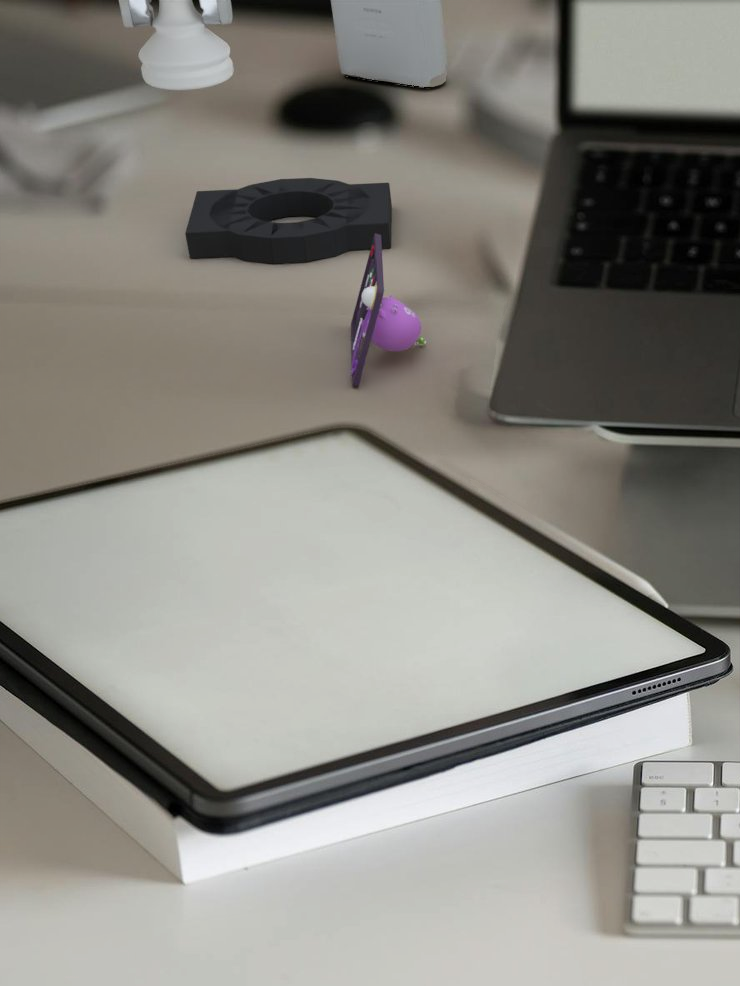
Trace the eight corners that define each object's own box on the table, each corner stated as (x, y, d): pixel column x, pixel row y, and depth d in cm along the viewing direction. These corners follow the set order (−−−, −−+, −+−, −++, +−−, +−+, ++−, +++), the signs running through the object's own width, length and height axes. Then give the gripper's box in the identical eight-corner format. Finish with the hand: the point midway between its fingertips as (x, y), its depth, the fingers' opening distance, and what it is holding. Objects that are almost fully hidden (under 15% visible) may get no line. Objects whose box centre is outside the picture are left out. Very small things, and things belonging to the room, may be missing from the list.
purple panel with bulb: (363, 229, 109) (365, 287, 102) (443, 249, 111) (451, 307, 104) (339, 321, 112) (339, 384, 105) (417, 339, 114) (423, 402, 107)
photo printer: (332, 78, 155) (315, -62, 148) (359, 65, 158) (343, -72, 152) (430, 94, 152) (417, -48, 145) (455, 80, 155) (443, -59, 149)
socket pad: (187, 268, 119) (182, 242, 118) (203, 207, 129) (198, 182, 128) (391, 257, 122) (388, 231, 121) (392, 198, 131) (389, 173, 130)
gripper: (-95, -230, 84) (-27, 46, 92) (328, -234, 88) (360, 33, 95) (-66, -250, 90) (-4, 13, 97) (333, -253, 93) (363, 2, 100)
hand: (180, 23), depth 96 cm, fingers closed on chess pawn, 3 cm apart
